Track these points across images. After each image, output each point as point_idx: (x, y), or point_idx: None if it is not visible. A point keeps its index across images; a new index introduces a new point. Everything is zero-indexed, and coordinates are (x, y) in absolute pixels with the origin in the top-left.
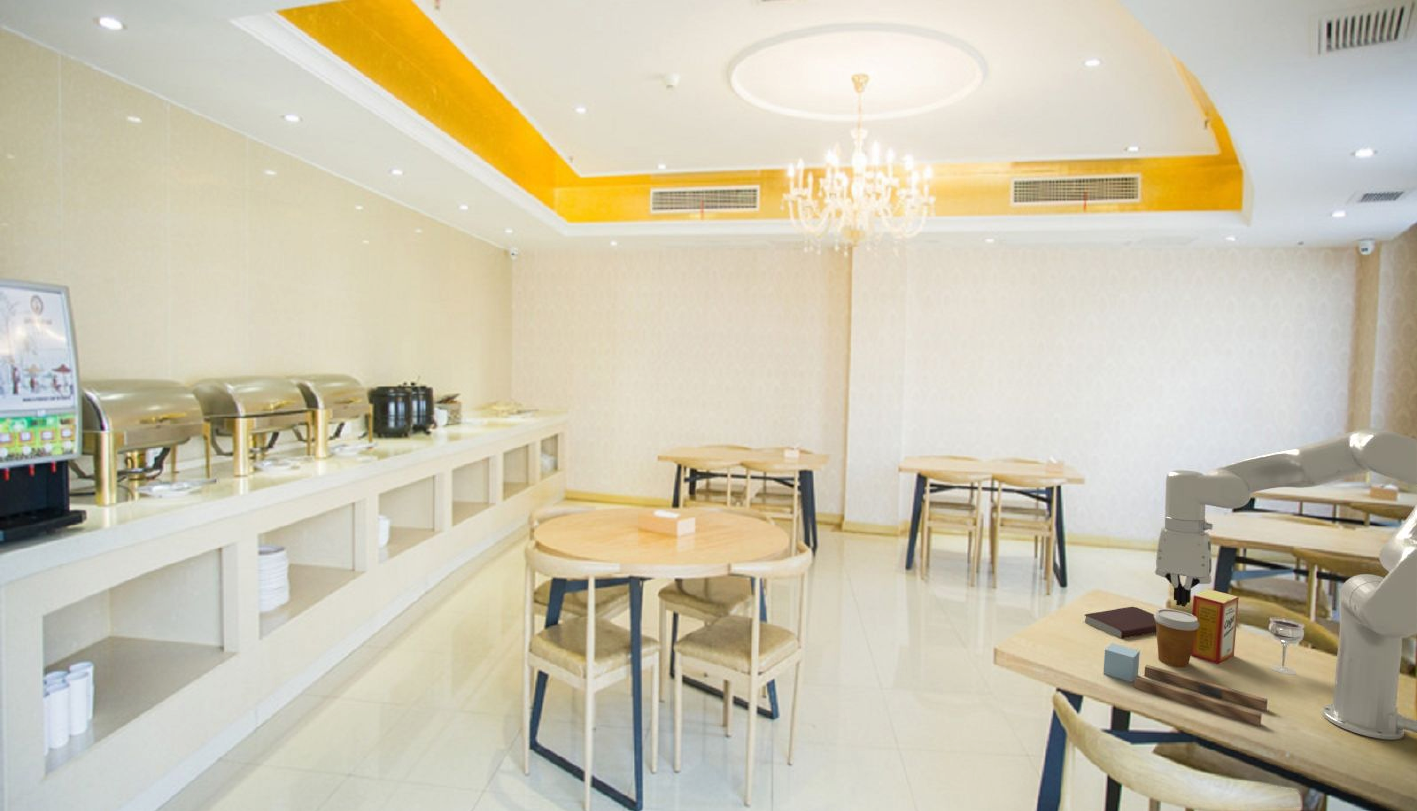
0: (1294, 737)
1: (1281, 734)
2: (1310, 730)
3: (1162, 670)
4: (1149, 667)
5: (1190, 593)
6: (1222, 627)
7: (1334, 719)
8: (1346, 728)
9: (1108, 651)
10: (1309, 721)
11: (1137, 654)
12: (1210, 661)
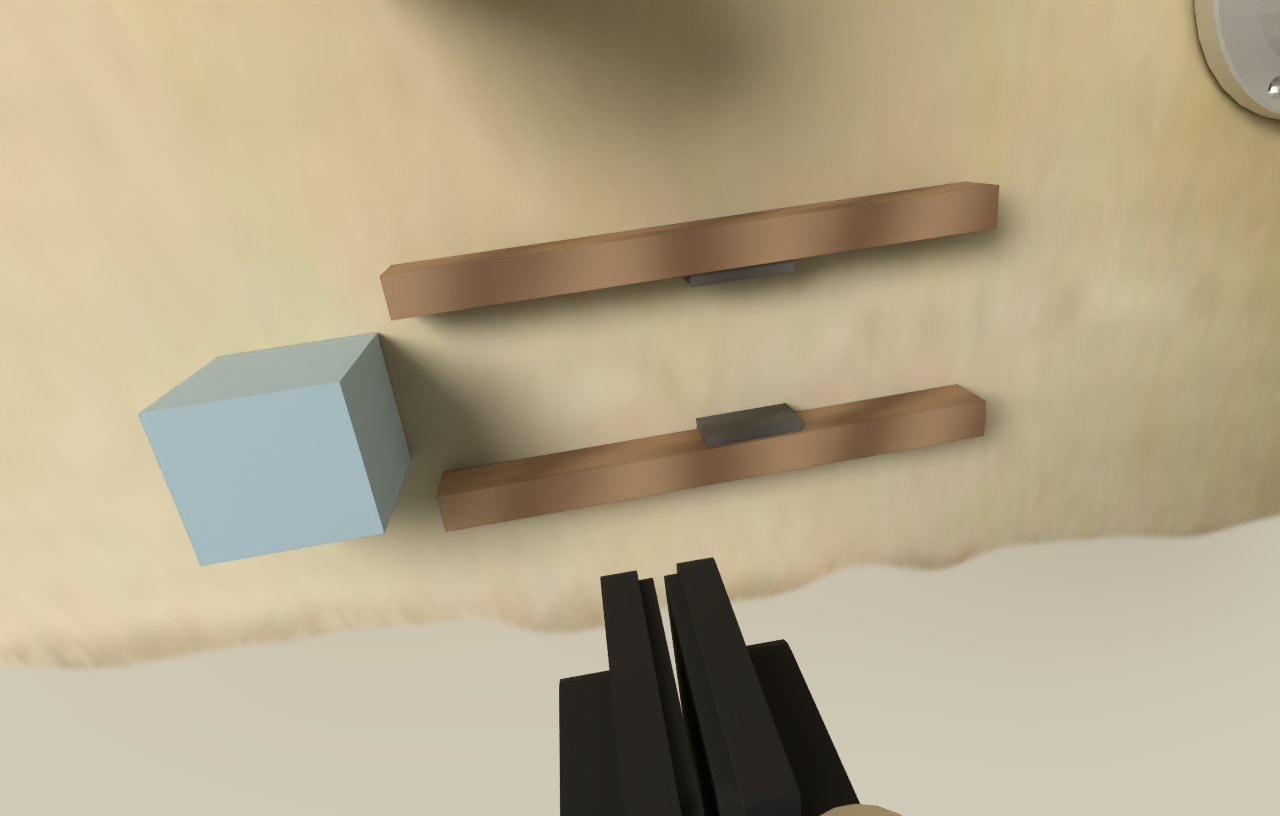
0: (1067, 399)
1: (1027, 416)
2: (1124, 264)
3: (483, 283)
4: (414, 309)
5: (830, 755)
6: None
7: (1246, 90)
8: (1268, 117)
9: (227, 557)
10: (1127, 155)
11: (358, 432)
12: None
